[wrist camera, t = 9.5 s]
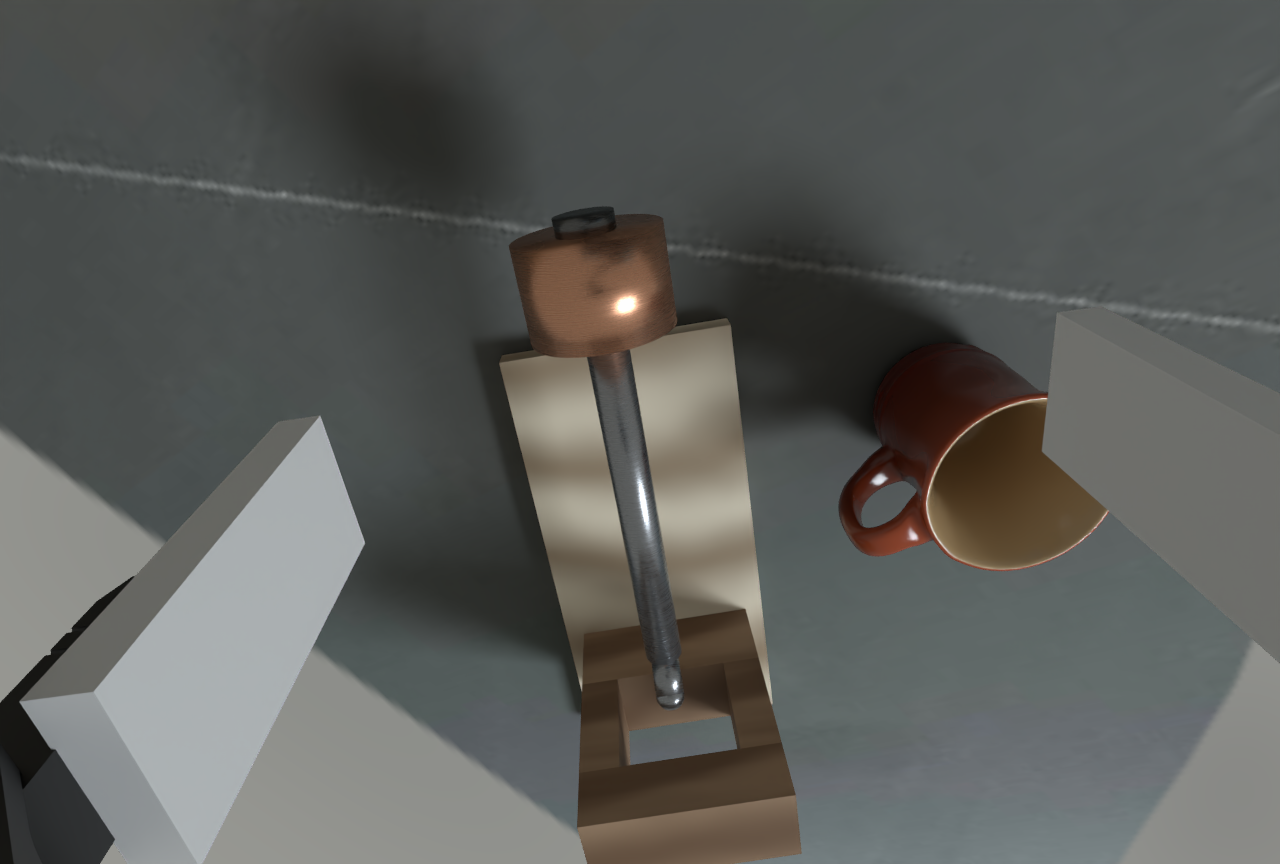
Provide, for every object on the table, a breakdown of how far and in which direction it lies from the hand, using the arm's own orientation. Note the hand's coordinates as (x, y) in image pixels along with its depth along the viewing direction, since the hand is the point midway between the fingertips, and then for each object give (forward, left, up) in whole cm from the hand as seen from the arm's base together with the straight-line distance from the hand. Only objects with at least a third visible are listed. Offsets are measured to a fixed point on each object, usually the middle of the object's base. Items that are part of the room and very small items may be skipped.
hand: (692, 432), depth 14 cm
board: (+19, -2, -26) cm, 32 cm away
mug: (+13, +13, -26) cm, 32 cm away
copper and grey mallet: (+10, -2, -20) cm, 23 cm away
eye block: (+26, -2, -25) cm, 36 cm away
